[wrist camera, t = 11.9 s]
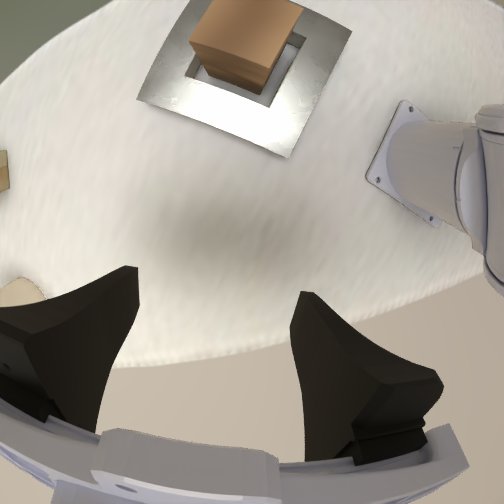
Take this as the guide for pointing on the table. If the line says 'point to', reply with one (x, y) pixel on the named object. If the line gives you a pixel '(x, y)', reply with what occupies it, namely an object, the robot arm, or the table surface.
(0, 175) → the box
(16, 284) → the foam cup
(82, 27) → the table surface
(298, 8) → the peg
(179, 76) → the collar
